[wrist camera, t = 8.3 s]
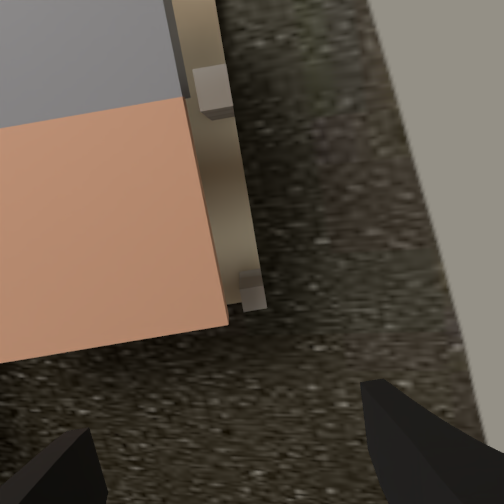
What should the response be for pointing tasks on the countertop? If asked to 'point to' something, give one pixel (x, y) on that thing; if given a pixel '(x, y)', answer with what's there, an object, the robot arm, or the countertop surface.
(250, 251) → the frame
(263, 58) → the countertop surface
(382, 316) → the countertop surface
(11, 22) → the trapdoor
